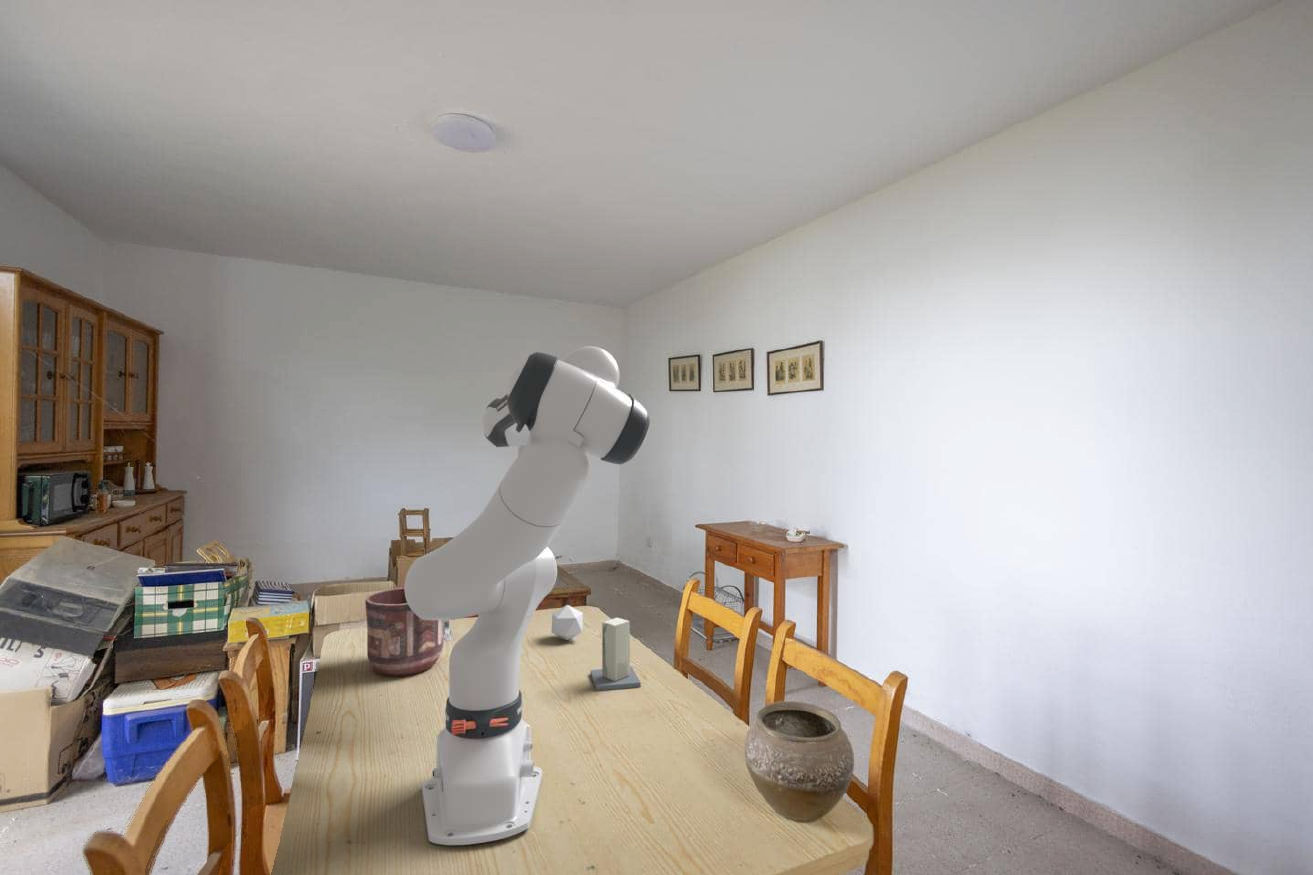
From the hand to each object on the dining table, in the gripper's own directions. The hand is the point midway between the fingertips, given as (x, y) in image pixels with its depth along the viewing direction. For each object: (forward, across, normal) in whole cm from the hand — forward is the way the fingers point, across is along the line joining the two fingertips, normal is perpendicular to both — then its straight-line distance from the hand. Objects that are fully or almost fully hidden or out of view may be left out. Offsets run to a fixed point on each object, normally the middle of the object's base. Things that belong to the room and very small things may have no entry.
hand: (537, 521), depth 137 cm
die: (+37, +31, -10) cm, 50 cm away
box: (+36, 0, -18) cm, 41 cm away
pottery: (+37, +18, +30) cm, 51 cm away
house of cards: (+38, +38, +25) cm, 59 cm away
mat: (+37, 0, -18) cm, 41 cm away
